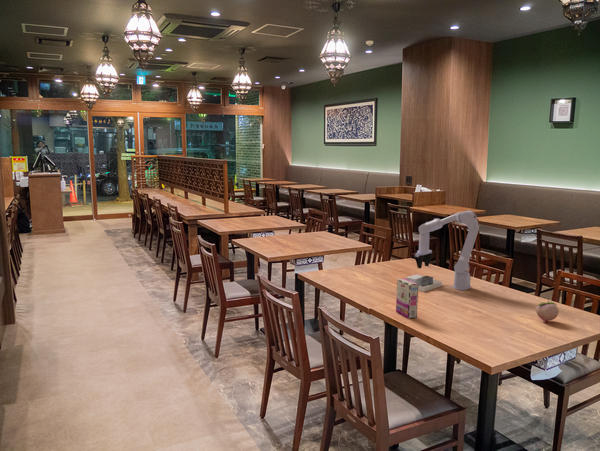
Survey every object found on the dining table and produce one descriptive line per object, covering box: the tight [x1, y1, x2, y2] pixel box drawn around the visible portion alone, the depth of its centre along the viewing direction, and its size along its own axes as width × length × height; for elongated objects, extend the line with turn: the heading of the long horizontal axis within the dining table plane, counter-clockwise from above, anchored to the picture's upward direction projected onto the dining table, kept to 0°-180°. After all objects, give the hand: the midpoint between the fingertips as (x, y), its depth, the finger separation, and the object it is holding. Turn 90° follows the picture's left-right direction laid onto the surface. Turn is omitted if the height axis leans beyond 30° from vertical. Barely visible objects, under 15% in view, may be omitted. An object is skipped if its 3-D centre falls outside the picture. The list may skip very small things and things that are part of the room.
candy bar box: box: [395, 278, 419, 320], centre depth 226 cm, size 11×5×16 cm, turn 21°
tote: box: [418, 279, 443, 293], centre depth 274 cm, size 18×16×3 cm
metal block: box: [421, 275, 434, 287], centre depth 271 cm, size 4×4×6 cm
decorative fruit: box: [535, 300, 559, 323], centre depth 218 cm, size 9×8×10 cm
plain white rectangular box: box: [405, 274, 424, 286], centre depth 276 cm, size 10×6×5 cm, turn 133°
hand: (423, 267), depth 281 cm, fingers open, 7 cm apart
